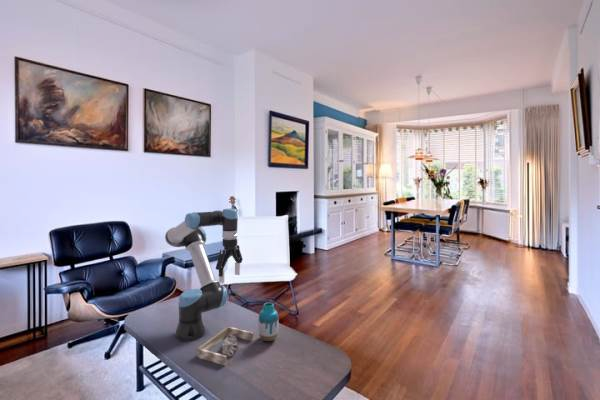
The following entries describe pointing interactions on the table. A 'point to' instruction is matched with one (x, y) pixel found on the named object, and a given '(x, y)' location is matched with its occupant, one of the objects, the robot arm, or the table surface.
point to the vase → (268, 322)
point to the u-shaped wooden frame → (216, 357)
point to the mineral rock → (229, 345)
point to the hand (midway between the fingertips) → (229, 278)
